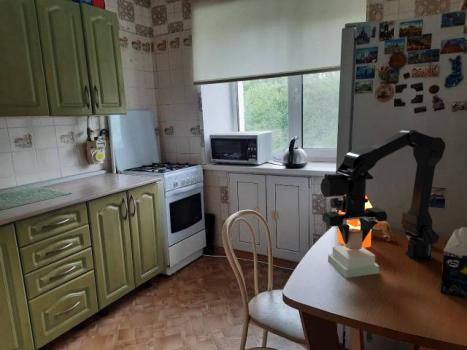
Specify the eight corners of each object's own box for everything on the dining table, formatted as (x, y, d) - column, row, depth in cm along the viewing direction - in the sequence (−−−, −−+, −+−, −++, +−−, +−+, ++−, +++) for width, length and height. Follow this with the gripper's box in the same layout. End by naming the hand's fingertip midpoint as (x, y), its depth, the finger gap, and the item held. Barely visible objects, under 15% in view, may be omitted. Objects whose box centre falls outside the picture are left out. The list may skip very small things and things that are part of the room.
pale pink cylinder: (356, 242, 107) (356, 227, 106) (365, 248, 103) (366, 233, 102) (341, 244, 107) (342, 229, 106) (350, 250, 102) (350, 235, 101)
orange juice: (353, 250, 118) (356, 195, 114) (337, 241, 126) (339, 189, 122) (371, 246, 121) (374, 192, 117) (353, 237, 129) (356, 187, 125)
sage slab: (358, 259, 112) (358, 250, 112) (378, 274, 102) (379, 265, 101) (327, 263, 110) (328, 254, 109) (345, 279, 99) (345, 270, 99)
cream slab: (357, 252, 110) (358, 243, 110) (374, 264, 102) (375, 255, 101) (332, 255, 108) (332, 247, 108) (347, 268, 100) (347, 259, 99)
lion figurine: (354, 234, 132) (355, 212, 130) (358, 230, 136) (360, 209, 134) (395, 243, 123) (396, 219, 121) (398, 238, 127) (400, 215, 125)
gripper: (368, 185, 111) (365, 230, 114) (315, 190, 107) (314, 236, 110) (389, 194, 100) (386, 243, 103) (331, 199, 97) (330, 250, 100)
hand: (353, 242), depth 104 cm, fingers open, 5 cm apart
